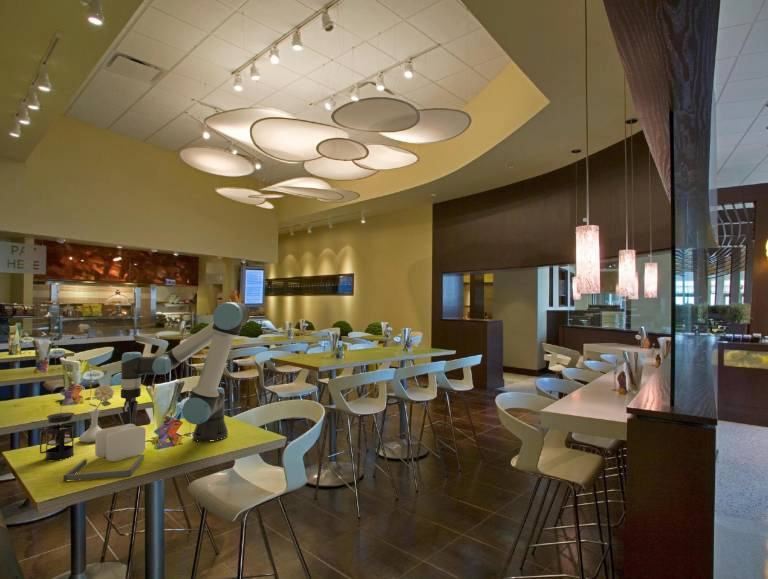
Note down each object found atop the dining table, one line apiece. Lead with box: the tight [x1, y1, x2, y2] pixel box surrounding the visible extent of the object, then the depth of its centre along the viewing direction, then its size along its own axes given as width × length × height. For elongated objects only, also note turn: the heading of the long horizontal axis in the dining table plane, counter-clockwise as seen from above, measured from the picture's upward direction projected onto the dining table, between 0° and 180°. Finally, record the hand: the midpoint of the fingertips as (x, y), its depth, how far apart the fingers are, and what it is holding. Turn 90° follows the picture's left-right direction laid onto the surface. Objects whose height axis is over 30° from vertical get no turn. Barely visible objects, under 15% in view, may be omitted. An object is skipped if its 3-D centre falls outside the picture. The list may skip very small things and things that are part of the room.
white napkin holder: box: [94, 424, 147, 463], centre depth 179 cm, size 15×11×12 cm
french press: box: [39, 398, 75, 461], centre depth 178 cm, size 12×9×23 cm
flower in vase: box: [78, 384, 115, 443], centre depth 201 cm, size 13×11×25 cm
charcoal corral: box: [62, 454, 145, 482], centre depth 163 cm, size 21×17×2 cm
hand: (129, 442), depth 190 cm, fingers closed
